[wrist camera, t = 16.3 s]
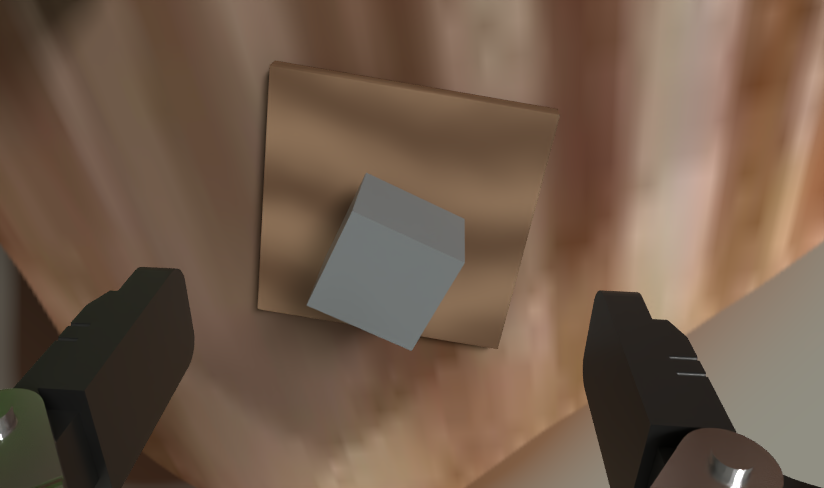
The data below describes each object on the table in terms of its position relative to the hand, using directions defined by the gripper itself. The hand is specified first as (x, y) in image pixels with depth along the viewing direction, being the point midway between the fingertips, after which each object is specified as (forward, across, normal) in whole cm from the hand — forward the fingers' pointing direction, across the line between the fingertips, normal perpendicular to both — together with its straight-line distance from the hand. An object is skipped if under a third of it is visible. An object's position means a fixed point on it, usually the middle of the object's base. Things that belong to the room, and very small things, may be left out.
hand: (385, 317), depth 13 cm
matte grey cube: (+22, +2, +10) cm, 24 cm away
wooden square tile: (+26, +2, +10) cm, 28 cm away
